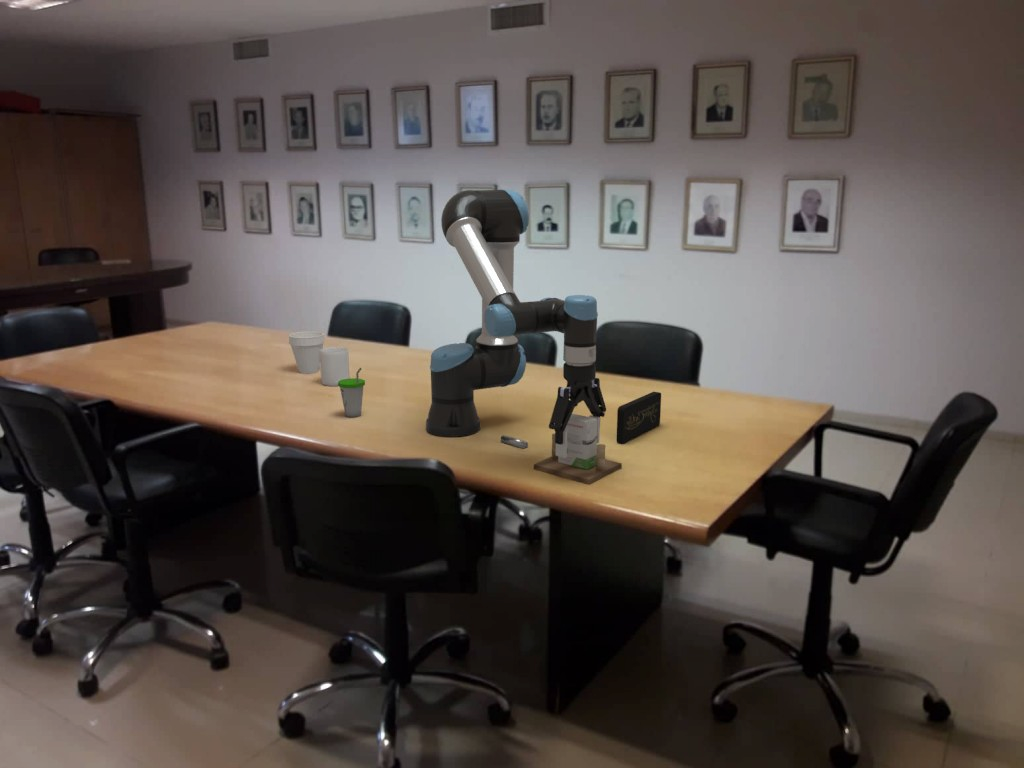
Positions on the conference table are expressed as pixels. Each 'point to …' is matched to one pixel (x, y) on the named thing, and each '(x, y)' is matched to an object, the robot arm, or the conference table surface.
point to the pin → (514, 441)
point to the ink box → (581, 442)
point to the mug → (334, 365)
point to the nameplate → (638, 417)
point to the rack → (575, 473)
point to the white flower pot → (307, 350)
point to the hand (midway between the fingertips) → (577, 449)
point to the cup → (352, 395)
